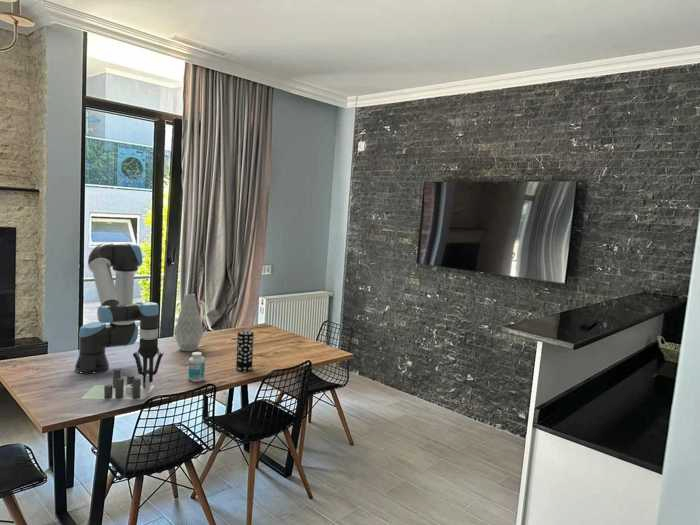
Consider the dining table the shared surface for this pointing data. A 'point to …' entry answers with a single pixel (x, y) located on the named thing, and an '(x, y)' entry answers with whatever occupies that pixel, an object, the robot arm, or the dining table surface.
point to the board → (98, 393)
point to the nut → (129, 389)
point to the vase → (188, 325)
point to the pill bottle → (196, 367)
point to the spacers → (119, 385)
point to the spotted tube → (244, 351)
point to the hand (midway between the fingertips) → (147, 389)
